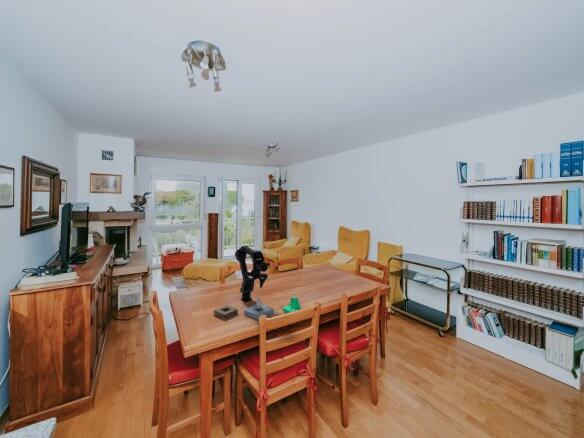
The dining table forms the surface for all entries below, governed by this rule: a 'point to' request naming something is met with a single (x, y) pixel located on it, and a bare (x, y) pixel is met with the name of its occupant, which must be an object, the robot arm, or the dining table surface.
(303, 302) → the dining table surface
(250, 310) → the socket plate
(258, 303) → the pin
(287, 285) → the dining table surface
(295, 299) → the camera mount
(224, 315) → the mount block
